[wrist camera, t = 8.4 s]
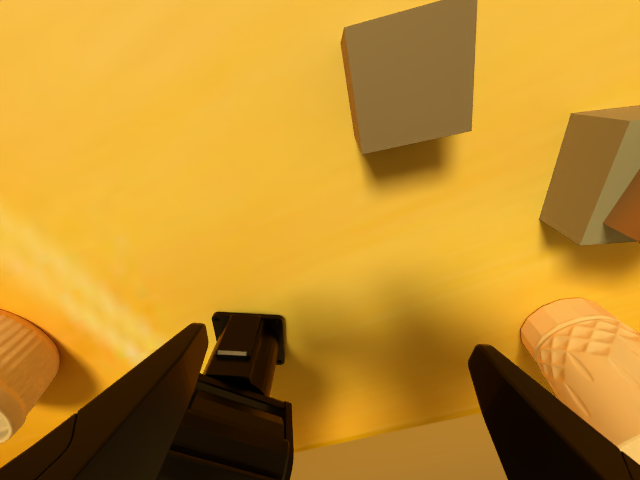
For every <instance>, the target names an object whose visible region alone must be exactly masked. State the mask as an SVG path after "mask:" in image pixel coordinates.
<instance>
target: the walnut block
mask: <svg viewBox="0 0 640 480" xmlns="http://www.w3.org/2000/svg"><path fill="white" fill-rule="evenodd" d="M603 223H604V224H606V225H607V226H609V227H611V228H613V229H615V230H617V231H619V232H621V233H623V234H625V235H627V236H628V237H630V238H632V239H634V240H636V241H638V242H640V169H639V170H638V172H637V173H636V175H635V176H634V178H633V179H632V181H631V182H630V184H629V185H628V187H627V188H626V190H625V191H624V193H623V194H622V196H621V197H620V198H619V200H618V201H617V203H616V204H615V206H614V207H613V209H612V210H611V212H610V213H609V215H608V216H607V218H606V219H605V221H604V222H603Z"/></svg>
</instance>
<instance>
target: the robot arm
mask: <svg viewBox="0 0 640 480" xmlns="http://www.w3.org/2000/svg"><path fill="white" fill-rule="evenodd" d="M217 317H218V318H217ZM212 322H213V327H214V331H215V336H216V340H217V343H216V345H215V347H214V349H213V352H212V354H211V356H210V359H209V361H208V363H207V365H206V368H205V370H204V372H203V374H201V373H200V370H201V367H202V364H203V361H204V358H205V354H206V351H207V348H208V336H207V330H206V326H205V324H203V323H192V324H190V325H188V326H187V327H186V328H184V329H183V330H182V331H181V332H179V333H178V334H177V335H175V336H174V337H173V338H172V339H170V340H169V341H168V342H166V343H165V344H164V345H163V346H161V347H160V348H159V349H157V350H156V351H155V352H153V353H152V354H151V355H150V356H148V357H147V358H146V359H144V360H143V361H142V362H141V363H139V364H138V365H137V366H135V367H134V368H133V369H132V370H130V371H129V372H128V373H126V374H125V375H124V376H123V377H121V378H120V379H119V380H117V381H116V382H115V383H113V384H112V385H111V386H110V387H108V388H107V389H106V390H104V391H103V392H102V393H101V394H99V395H98V396H97V397H95V398H94V399H93V400H92V401H90V402H89V403H88V404H86V405H85V406H84V407H83V408H81V409H80V410H79V411H78V413H75V414H73V415H72V416H71V417H69V418H68V419H67V420H66V421H64V422H63V423H62V424H60V425H59V426H58V427H56V428H55V429H54V430H52V431H51V432H50V433H48V434H47V435H46V436H44V437H43V438H42V439H40V440H39V441H38V442H36V443H35V444H34V445H32V446H31V447H30V448H28V449H27V450H25V451H24V452H23V453H21V454H20V455H18V456H17V457H15V458H14V459H13V460H11V461H10V462H8V463H7V464H6V465H4V466H3V467H1V468H0V480H290V476H291V471H292V466H293V452H294V450H293V427H292V405H291V403H289V402H286V401H285V402H282V401H279V400H276V399H274V398H271V397H269V396H270V391H271V386H272V381H273V375H274V370H275V365H282V364H284V361H285V347H284V321H283V318H282V317H281V316H279V315H262V314H244V313H226V312H216V313H214V314H213V316H212ZM468 367H469V371H470V374H471V378H472V381H473V385H474V388H475V391H476V395H477V398H478V402H479V405H480V409H481V412H482V415H483V417H484V420H485V423H486V425H487V428H488V430H489V433H490V435H491V438H492V441H493V443H494V445H495V448H496V451H497V453H498V456H499V458H500V461H501V463H502V465H503V468H504V471H505V473H506V476H507V478H508V480H640V465H639V464H638V463H637V462H636V461H634V460H633V459H632V458H631V457H629V456H628V455H627V454H626V453H624V452H623V451H620V449H619V448H618V447H617V446H616V445H614V444H613V443H612V442H611V441H609V440H608V439H607V438H606V437H604V436H603V435H602V434H601V433H599V432H598V431H597V430H596V429H594V428H593V427H592V426H591V425H590V424H588V423H587V422H586V421H585V420H583V419H582V418H581V417H580V416H578V415H577V414H576V413H575V412H573V411H572V410H571V409H570V408H568V407H567V406H566V405H565V404H563V403H562V402H561V401H560V400H558V399H557V398H556V397H555V396H554V395H552V394H551V393H550V392H549V391H547V390H546V389H545V388H544V387H542V386H541V385H540V384H539V383H537V382H536V381H535V380H534V379H532V378H531V377H530V376H529V375H527V374H526V373H525V372H524V371H522V370H521V369H520V368H519V367H518V366H516V365H515V364H514V363H513V362H511V361H510V360H509V359H508V358H506V357H505V356H504V355H503V354H501V353H500V352H499V351H498V350H496V349H495V348H494V347H493V346H491V345H486V344H477V345H476V346H475V348H474V350H473V352H472V354H471V356H470V358H469V360H468Z"/></svg>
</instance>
